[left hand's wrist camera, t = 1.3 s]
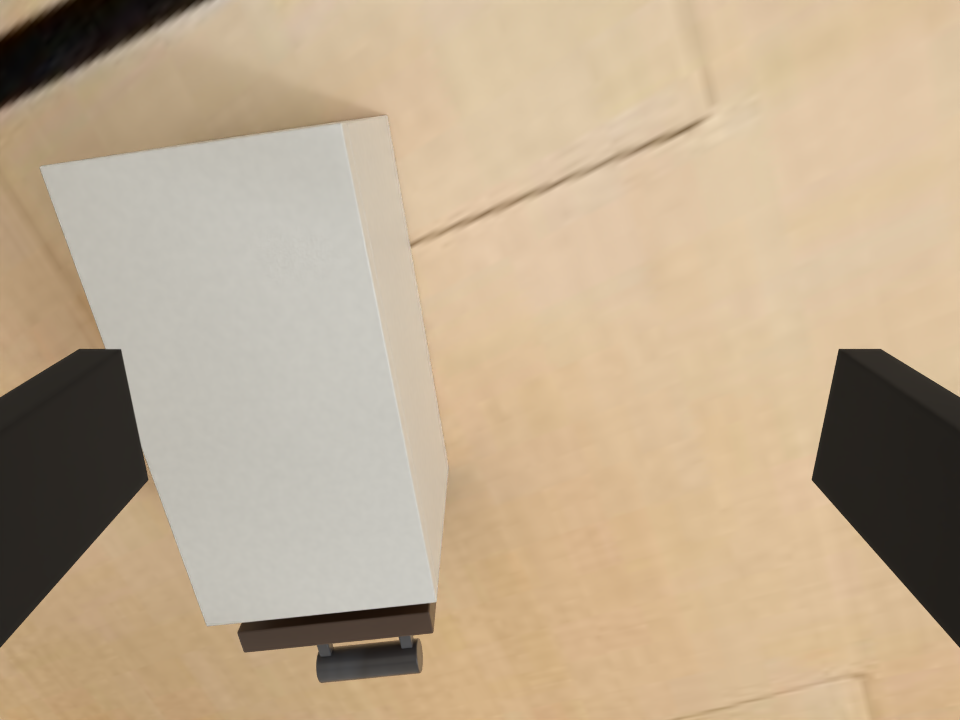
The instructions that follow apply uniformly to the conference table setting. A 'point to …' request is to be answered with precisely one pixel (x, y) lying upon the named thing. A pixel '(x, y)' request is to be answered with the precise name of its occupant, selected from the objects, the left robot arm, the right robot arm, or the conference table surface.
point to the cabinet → (271, 361)
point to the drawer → (350, 640)
